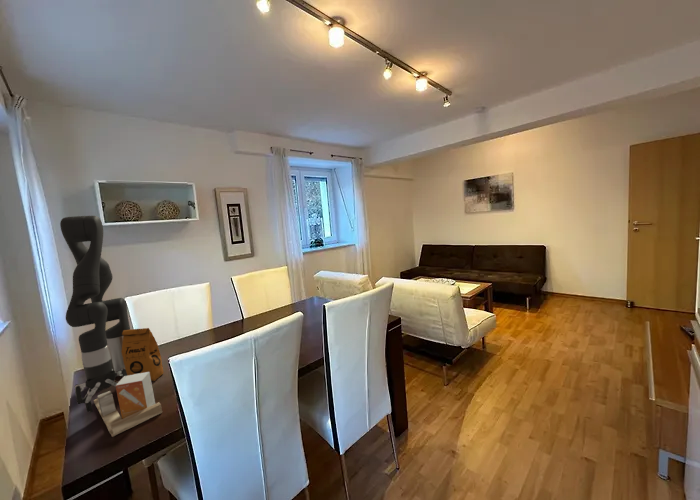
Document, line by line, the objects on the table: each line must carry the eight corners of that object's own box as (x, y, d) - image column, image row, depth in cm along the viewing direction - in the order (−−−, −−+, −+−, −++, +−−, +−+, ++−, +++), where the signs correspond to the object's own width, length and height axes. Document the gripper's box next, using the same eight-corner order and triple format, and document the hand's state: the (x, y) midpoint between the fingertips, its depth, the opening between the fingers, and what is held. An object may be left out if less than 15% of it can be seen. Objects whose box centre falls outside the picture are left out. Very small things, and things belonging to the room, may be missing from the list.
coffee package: (153, 384, 125) (143, 332, 122) (124, 386, 126) (113, 334, 123) (168, 371, 135) (159, 323, 132) (141, 373, 136) (132, 325, 133)
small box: (122, 421, 103) (114, 385, 101) (130, 410, 109) (123, 375, 107) (149, 416, 104) (142, 380, 102) (156, 404, 110) (149, 370, 109)
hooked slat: (94, 402, 115) (90, 385, 114) (137, 384, 125) (134, 368, 125) (112, 437, 95) (107, 416, 94) (162, 412, 105) (158, 393, 104)
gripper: (120, 349, 112) (128, 391, 115) (68, 366, 102) (78, 411, 104) (125, 354, 107) (134, 398, 110) (71, 373, 97) (81, 420, 99)
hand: (106, 404), depth 107 cm, fingers open, 8 cm apart
